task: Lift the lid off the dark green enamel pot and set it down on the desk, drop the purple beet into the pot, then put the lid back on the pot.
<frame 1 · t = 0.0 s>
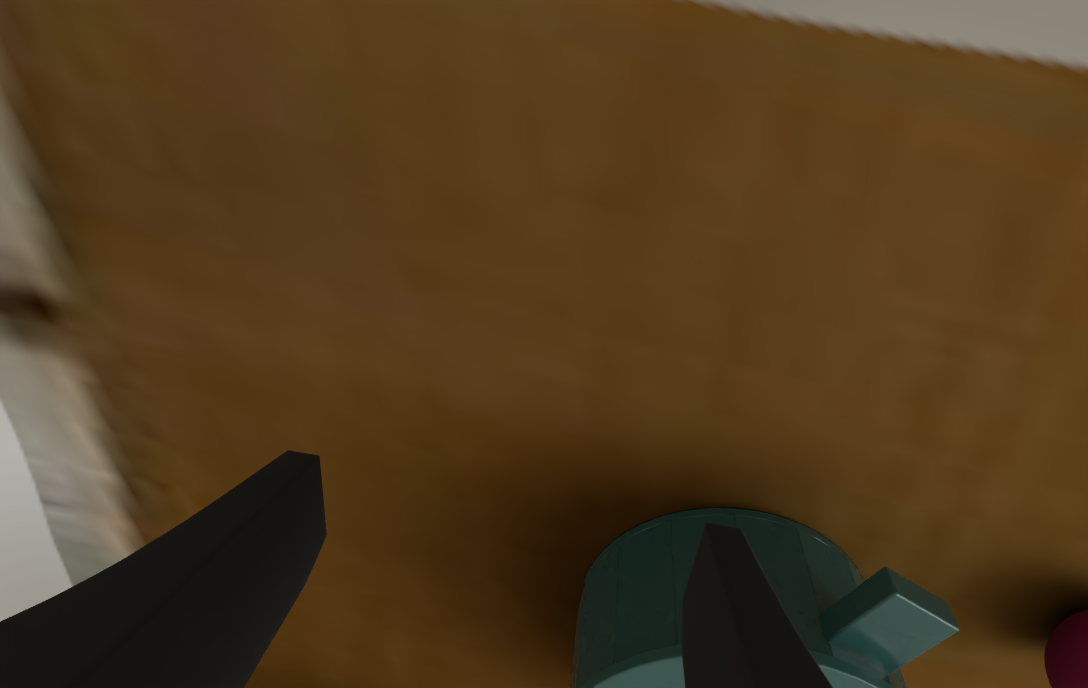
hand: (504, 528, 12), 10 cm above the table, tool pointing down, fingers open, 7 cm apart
pot: (719, 612, 27), on the table
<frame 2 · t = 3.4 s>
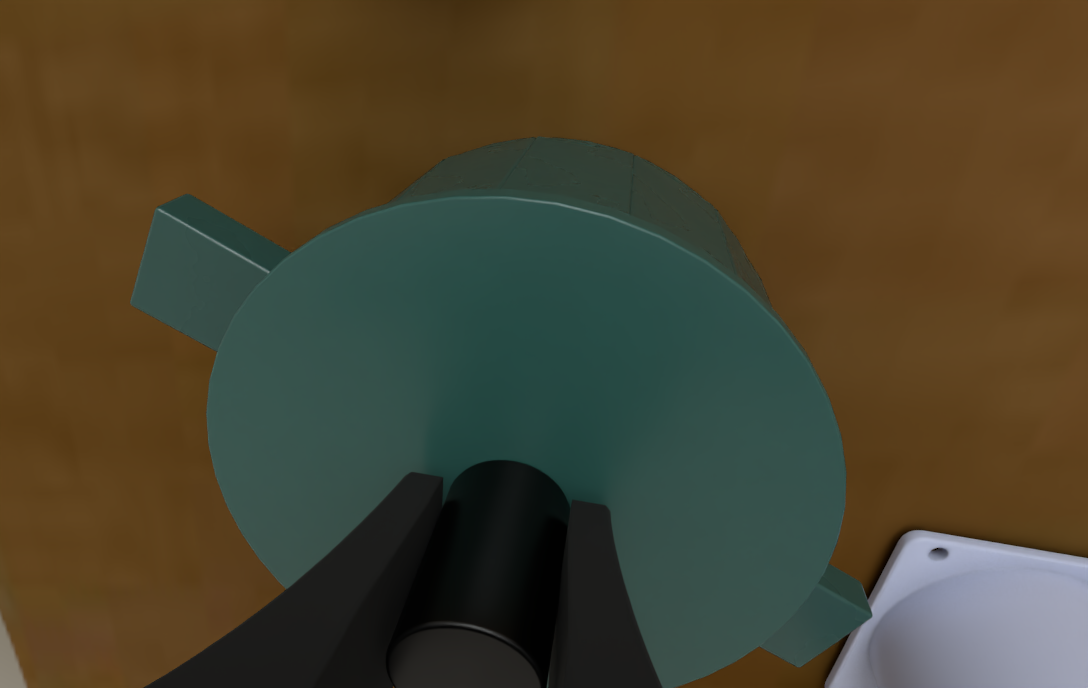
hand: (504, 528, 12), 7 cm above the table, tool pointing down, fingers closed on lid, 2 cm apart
lid: (513, 491, 13), point 6 cm above the table, touching gripper, pot
pot: (551, 348, 18), on the table
when the fingers open (2 cm above the table, at t = 7.5 s): lid stays where it is, point 1 cm above the table.
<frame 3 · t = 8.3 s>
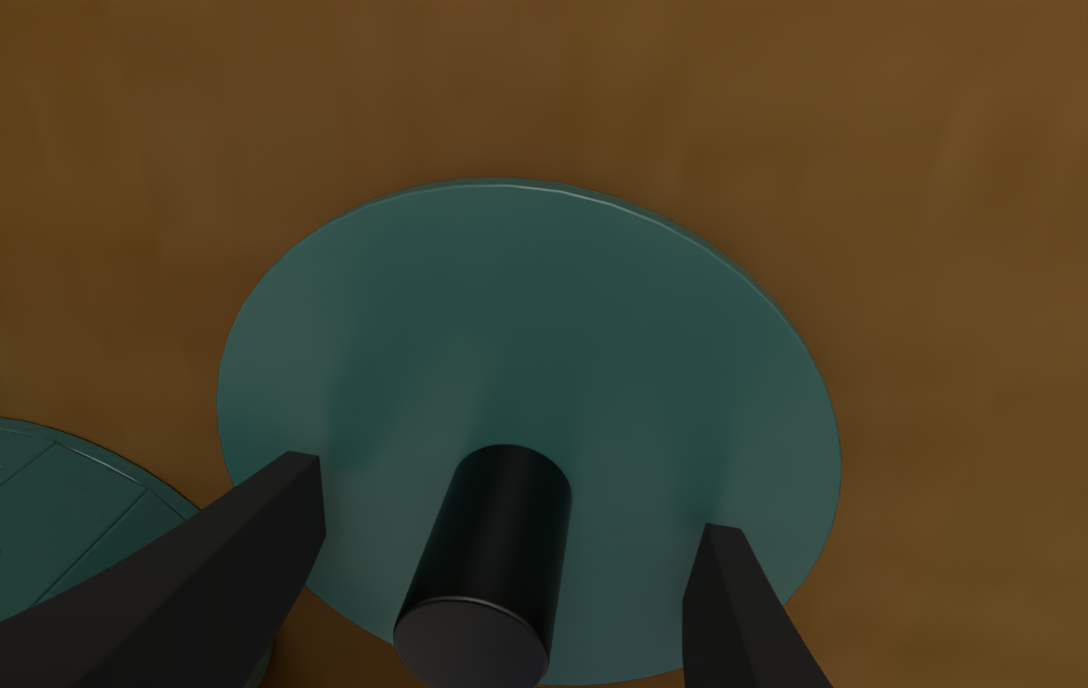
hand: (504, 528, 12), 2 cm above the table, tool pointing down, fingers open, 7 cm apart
lid: (516, 476, 13), point 1 cm above the table
pot: (77, 583, 18), on the table
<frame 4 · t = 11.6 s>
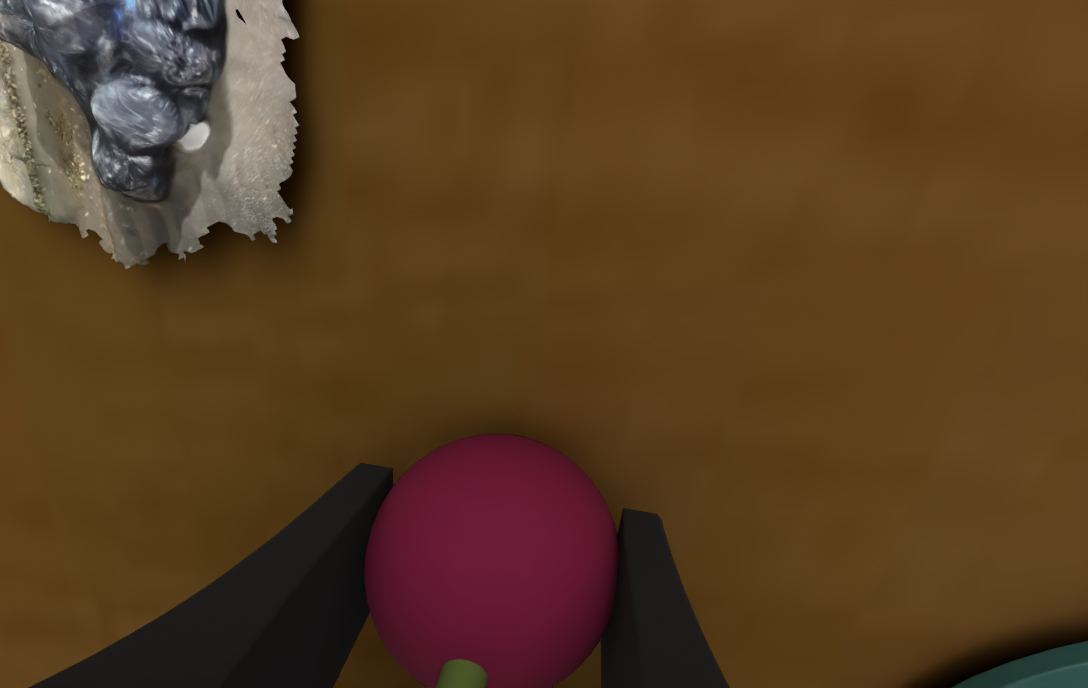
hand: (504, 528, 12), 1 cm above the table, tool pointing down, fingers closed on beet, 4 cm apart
beet: (494, 560, 11), point 2 cm above the table, touching gripper
when the fingers open (4 cm above the table, at t = 16.0 s): beet drops 3 cm, resting on pot.
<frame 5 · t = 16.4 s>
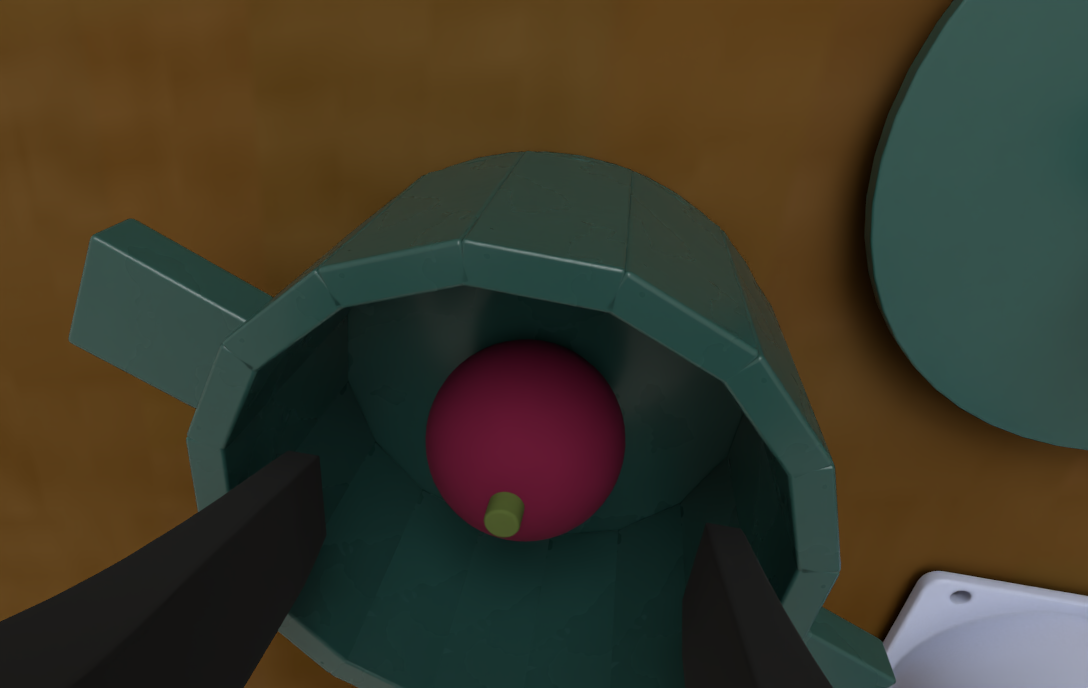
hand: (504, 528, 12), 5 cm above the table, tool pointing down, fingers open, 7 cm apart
beet: (525, 438, 14), point 3 cm above the table, touching pot
pot: (542, 376, 17), on the table
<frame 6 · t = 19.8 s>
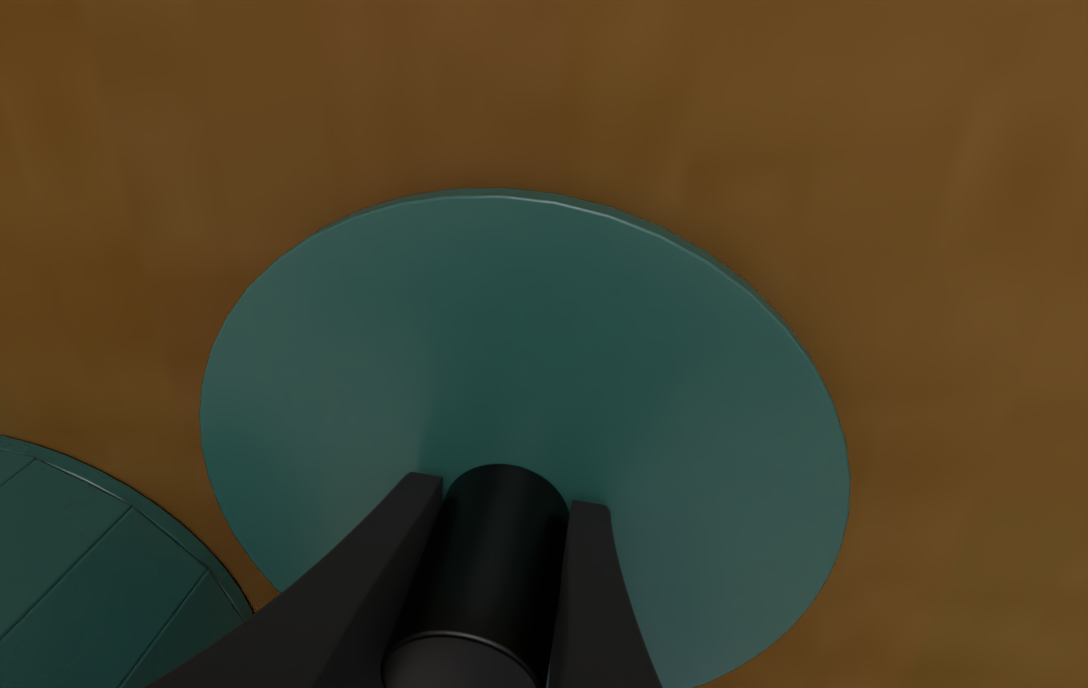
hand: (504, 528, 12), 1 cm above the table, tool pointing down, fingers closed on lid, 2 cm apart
lid: (511, 495, 13), point 1 cm above the table, touching gripper
pot: (61, 600, 18), on the table
when the fingers open (7 cm above the table, at t = 23.8 s): lid stays where it is, resting on pot.
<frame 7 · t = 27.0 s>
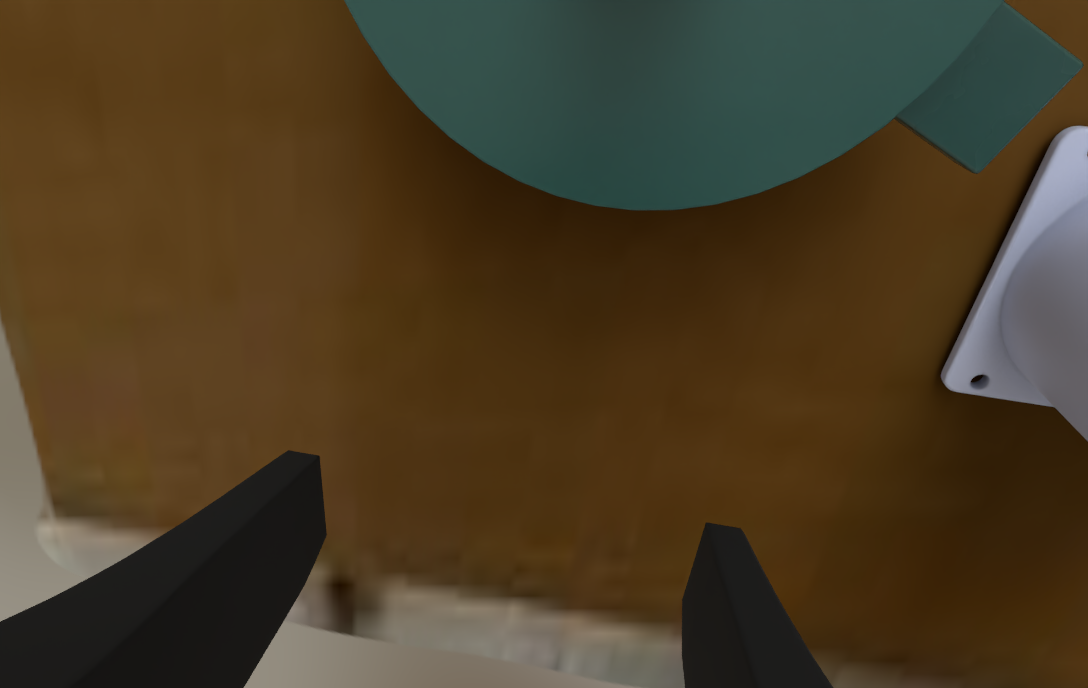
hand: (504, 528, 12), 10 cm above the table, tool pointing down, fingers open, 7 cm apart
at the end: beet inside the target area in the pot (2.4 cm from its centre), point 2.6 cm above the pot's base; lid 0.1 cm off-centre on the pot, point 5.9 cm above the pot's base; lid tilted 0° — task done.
